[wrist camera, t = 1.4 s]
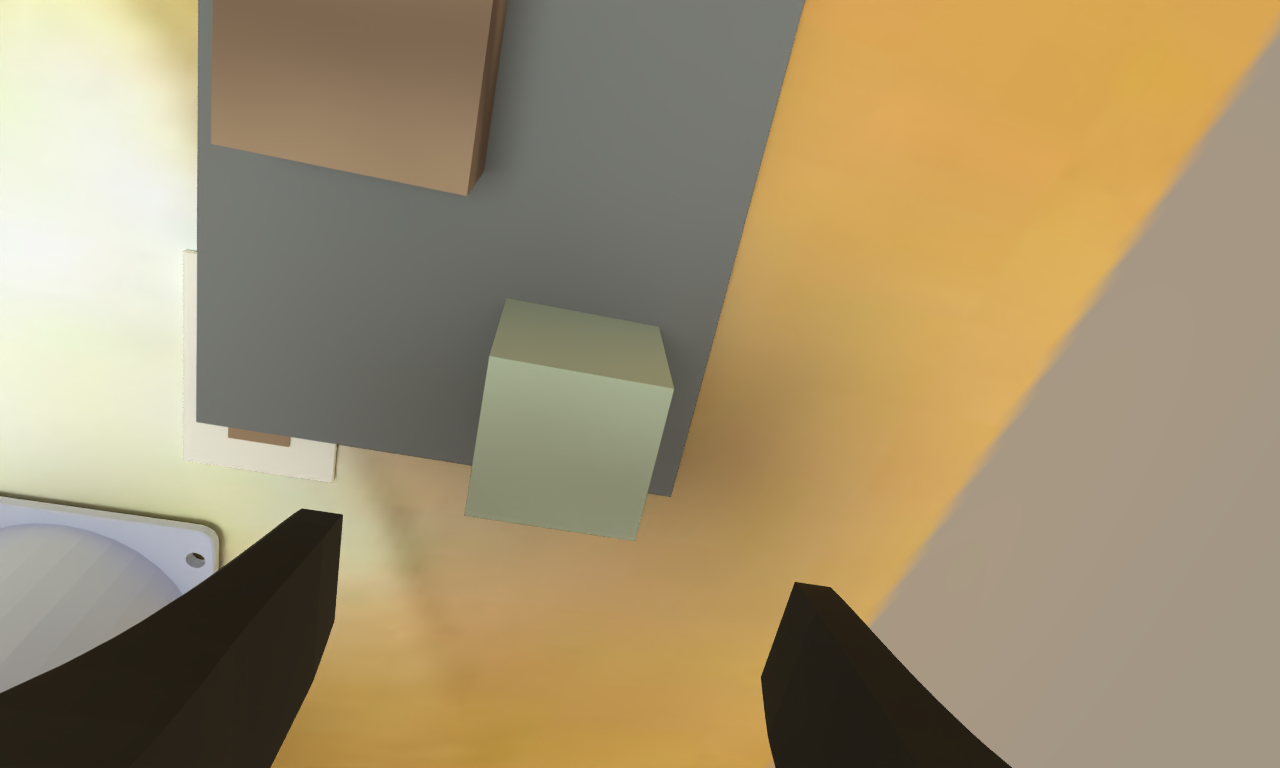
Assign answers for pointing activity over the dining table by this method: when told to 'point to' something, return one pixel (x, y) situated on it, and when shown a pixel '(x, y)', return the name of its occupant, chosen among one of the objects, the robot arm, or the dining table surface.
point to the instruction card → (235, 443)
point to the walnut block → (360, 84)
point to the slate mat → (492, 229)
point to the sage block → (569, 421)
